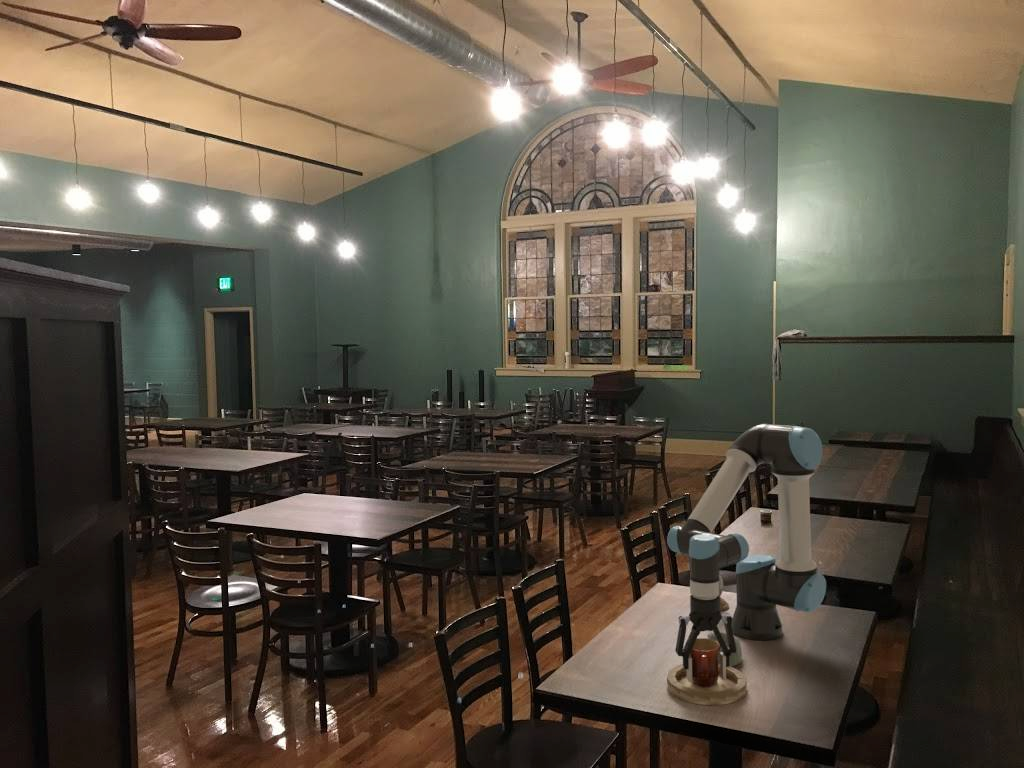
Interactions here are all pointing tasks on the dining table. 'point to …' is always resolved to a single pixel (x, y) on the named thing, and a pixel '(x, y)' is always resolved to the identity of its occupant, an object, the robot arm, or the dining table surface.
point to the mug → (705, 662)
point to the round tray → (710, 695)
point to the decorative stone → (734, 657)
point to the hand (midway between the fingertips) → (706, 679)
